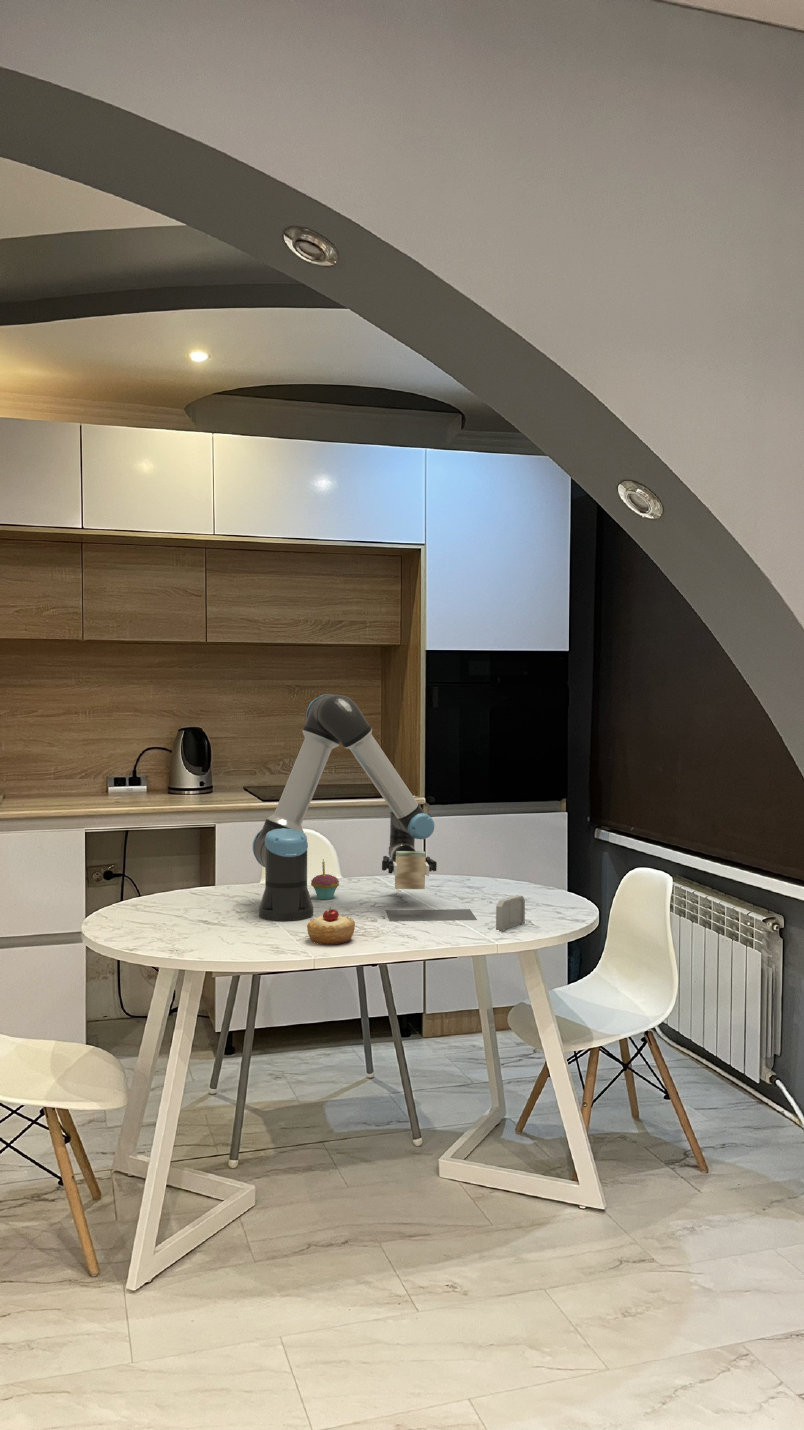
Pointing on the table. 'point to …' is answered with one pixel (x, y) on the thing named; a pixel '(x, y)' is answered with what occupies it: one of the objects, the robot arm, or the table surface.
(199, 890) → the table surface
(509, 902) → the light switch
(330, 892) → the cupcake
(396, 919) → the mat
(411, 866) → the tan and green block
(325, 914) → the pastry
